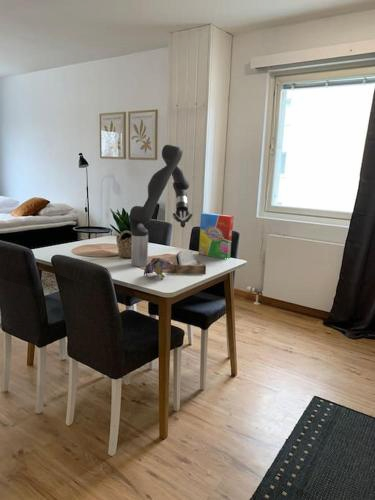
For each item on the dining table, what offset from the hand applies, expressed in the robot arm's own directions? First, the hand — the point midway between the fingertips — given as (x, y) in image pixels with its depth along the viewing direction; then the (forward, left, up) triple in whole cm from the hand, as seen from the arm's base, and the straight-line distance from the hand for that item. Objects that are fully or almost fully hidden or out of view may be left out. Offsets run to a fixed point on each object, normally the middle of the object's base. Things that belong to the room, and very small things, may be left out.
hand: (183, 226), depth 227 cm
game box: (+22, +7, -20) cm, 31 cm away
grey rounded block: (0, -17, -20) cm, 26 cm away
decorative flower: (-17, -42, -20) cm, 49 cm away
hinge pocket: (+1, -31, -20) cm, 37 cm away
